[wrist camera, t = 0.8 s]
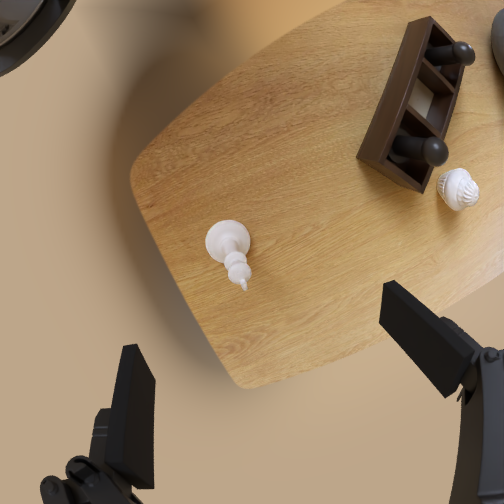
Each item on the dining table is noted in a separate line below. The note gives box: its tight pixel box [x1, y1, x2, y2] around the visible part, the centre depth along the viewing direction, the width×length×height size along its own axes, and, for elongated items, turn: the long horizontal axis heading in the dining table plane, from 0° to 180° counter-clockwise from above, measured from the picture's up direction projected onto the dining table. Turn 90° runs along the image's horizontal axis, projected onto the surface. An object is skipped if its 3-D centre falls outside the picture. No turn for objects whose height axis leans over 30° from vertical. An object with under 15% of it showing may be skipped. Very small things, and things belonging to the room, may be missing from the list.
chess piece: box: [205, 220, 251, 291], centre depth 27 cm, size 5×5×10 cm
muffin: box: [437, 168, 479, 211], centre depth 32 cm, size 6×6×7 cm
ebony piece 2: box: [424, 41, 475, 71], centre depth 23 cm, size 4×4×9 cm
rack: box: [356, 16, 465, 194], centre depth 27 cm, size 8×23×5 cm, turn 156°
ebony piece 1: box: [386, 128, 449, 167], centre depth 27 cm, size 4×4×9 cm
